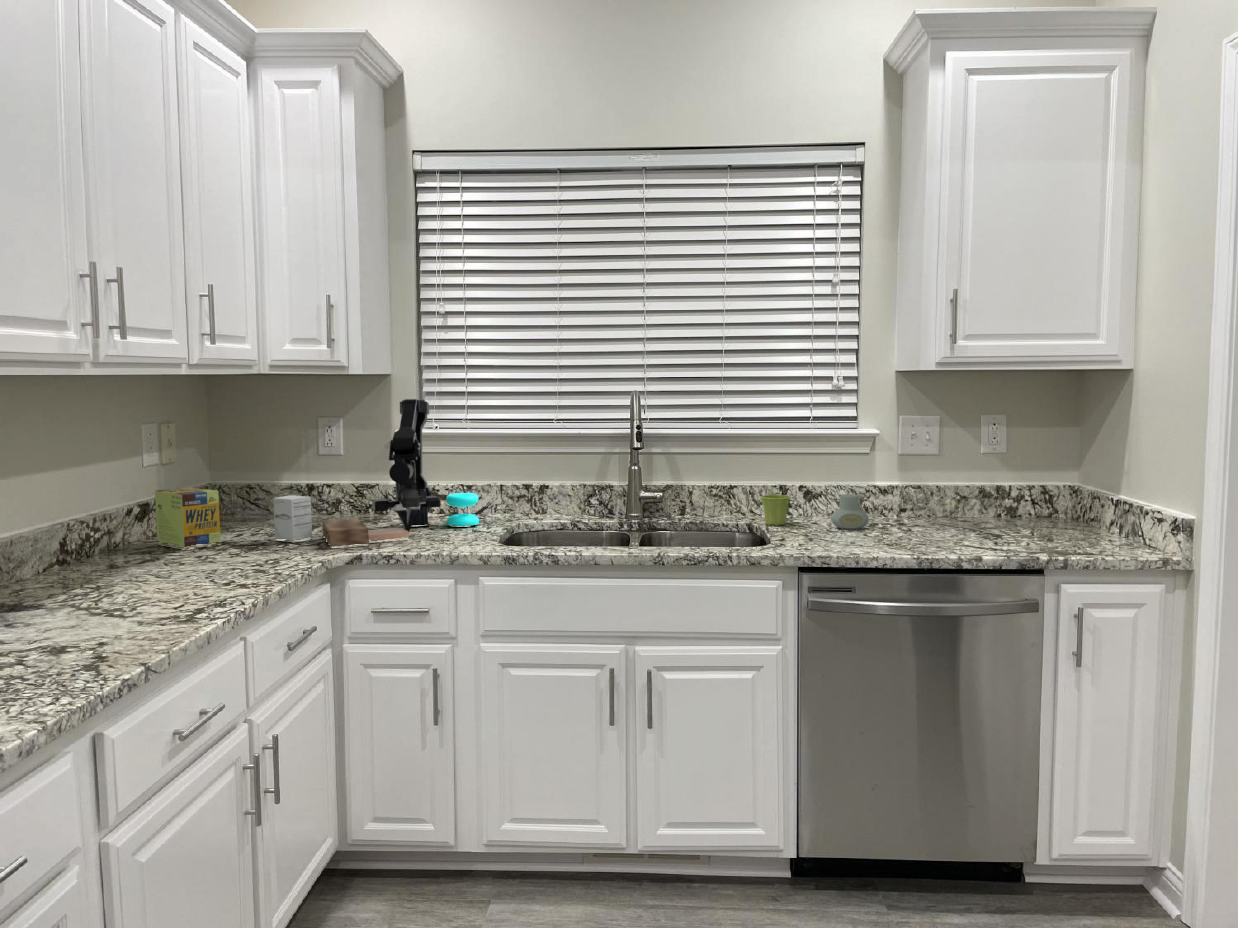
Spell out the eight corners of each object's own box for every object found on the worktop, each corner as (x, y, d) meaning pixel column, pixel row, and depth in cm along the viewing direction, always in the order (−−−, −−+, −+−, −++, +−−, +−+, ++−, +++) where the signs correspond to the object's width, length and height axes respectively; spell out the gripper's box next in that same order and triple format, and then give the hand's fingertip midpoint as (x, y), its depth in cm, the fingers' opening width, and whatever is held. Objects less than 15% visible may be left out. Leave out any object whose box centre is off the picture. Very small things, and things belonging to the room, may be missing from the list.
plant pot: (754, 522, 280) (755, 495, 280) (781, 521, 283) (782, 493, 282) (768, 527, 271) (768, 498, 271) (796, 525, 274) (796, 497, 273)
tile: (401, 537, 261) (401, 527, 261) (409, 541, 254) (408, 531, 254) (349, 542, 254) (348, 532, 254) (355, 547, 247) (354, 536, 247)
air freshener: (866, 526, 271) (867, 493, 270) (870, 530, 263) (870, 497, 262) (829, 526, 273) (830, 493, 272) (832, 530, 265) (832, 496, 264)
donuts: (485, 493, 279) (461, 497, 271) (485, 525, 280) (462, 529, 272) (463, 491, 285) (439, 494, 277) (463, 522, 286) (439, 526, 278)
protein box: (184, 551, 240) (181, 494, 239) (156, 545, 249) (153, 490, 248) (222, 545, 248) (219, 490, 247) (193, 540, 257) (191, 486, 256)
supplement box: (274, 541, 254) (272, 497, 252) (294, 537, 260) (292, 494, 259) (292, 543, 250) (290, 499, 249) (313, 539, 257) (311, 495, 255)
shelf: (358, 535, 263) (357, 518, 263) (368, 546, 245) (368, 528, 245) (322, 537, 259) (322, 520, 259) (330, 549, 241) (330, 530, 241)
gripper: (377, 483, 247) (379, 539, 248) (444, 480, 254) (446, 534, 256) (370, 480, 257) (372, 533, 258) (435, 476, 264) (437, 528, 266)
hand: (407, 532), depth 259 cm, fingers closed
